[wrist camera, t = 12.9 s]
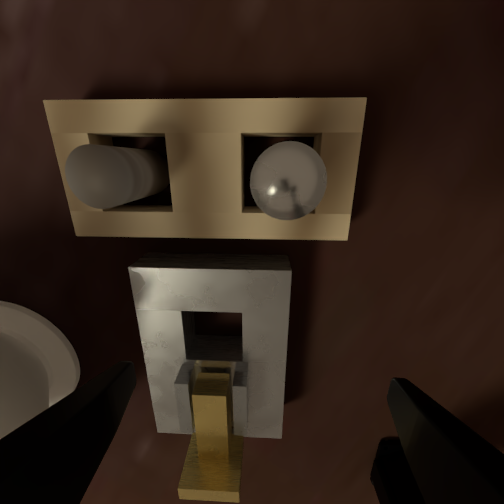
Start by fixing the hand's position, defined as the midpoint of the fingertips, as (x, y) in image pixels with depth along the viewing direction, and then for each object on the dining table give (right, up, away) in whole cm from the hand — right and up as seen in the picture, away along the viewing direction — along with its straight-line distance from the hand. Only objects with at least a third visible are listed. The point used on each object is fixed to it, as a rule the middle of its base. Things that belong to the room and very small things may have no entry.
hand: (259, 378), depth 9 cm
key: (-3, -9, +12) cm, 15 cm away
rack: (-3, +10, +9) cm, 14 cm away
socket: (-3, -3, +14) cm, 14 cm away
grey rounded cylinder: (+2, +10, +9) cm, 13 cm away
